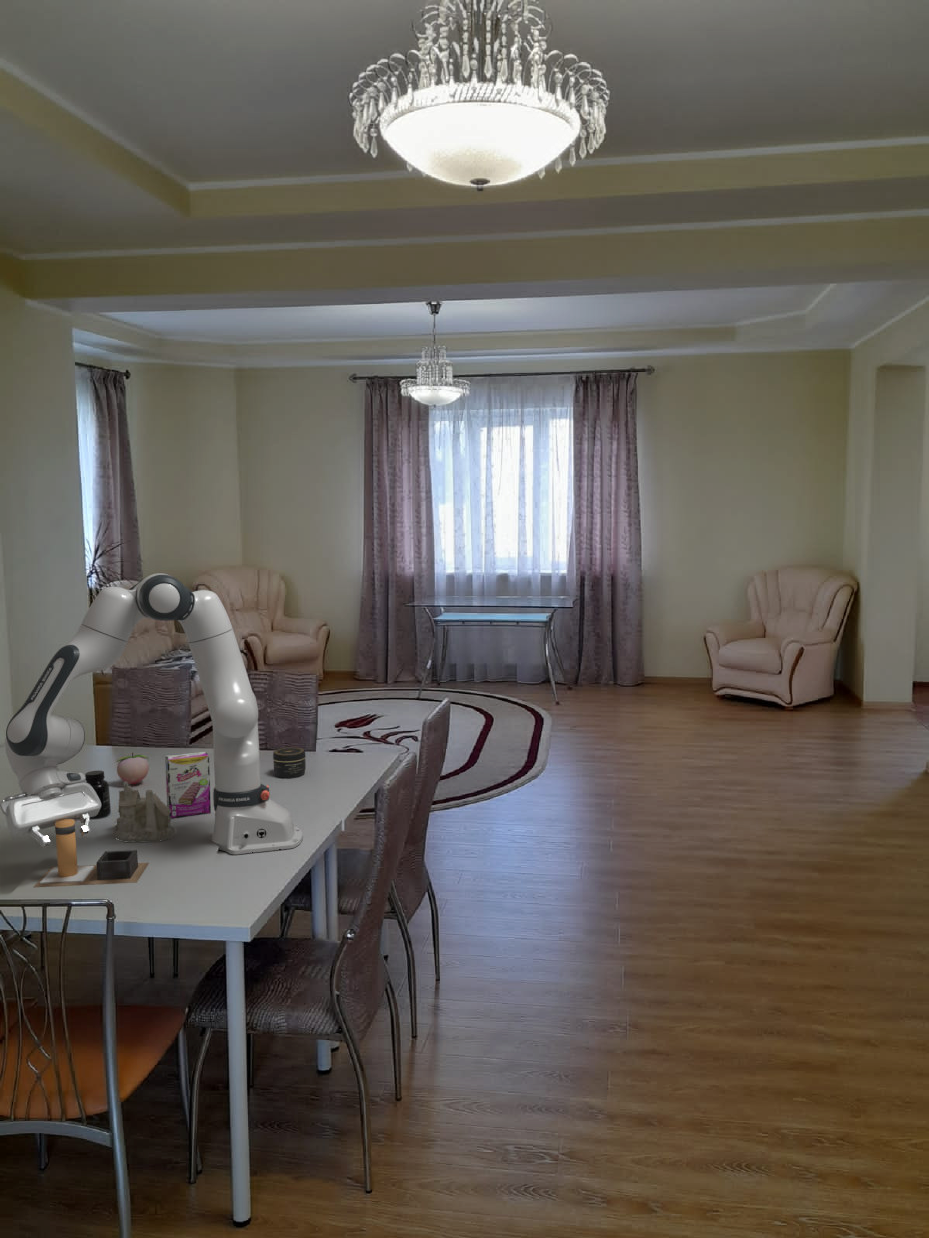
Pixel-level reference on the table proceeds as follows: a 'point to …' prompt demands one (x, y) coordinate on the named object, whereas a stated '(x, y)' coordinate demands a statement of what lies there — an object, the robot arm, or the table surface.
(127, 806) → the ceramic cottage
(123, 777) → the decorative fruit
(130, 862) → the board with square socket
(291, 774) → the jar
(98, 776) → the supplement bottle
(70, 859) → the orange cylindrical peg
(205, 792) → the candy bar box
